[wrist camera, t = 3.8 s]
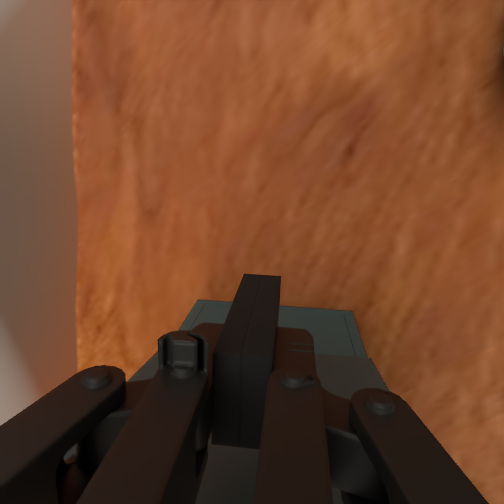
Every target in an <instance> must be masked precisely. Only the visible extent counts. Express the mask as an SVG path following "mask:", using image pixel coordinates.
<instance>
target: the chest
mask: <svg viewBox="0 0 504 504" xmlns="http://www.w3.org/2000/svg"><path fill="white" fill-rule="evenodd" d="M232 303H233V302H223V301H210V300H197V301H196V303H195V305H194V306H193V308H192V309H191V311H190V312H189V314H188V316H187V317H186V319H185V320H184V322H183V324H182V325H181V327H180V328H179V330H192V328H194V327H195V326H197V325H199V324H200V323H202V322H206V323H219V324H224V323H225V320H226V318H227V315H228V313H229V310H230V308H231V305H232ZM278 327H285V328H298V329H306V330H307V331H308V332H309V333H310V334H311V335H312V336H313V341H314V353H315V354H326V355H338V356H350V357H362V358H368V357H367V354H366V351H365V348H364V345H363V342H362V339H361V336H360V333H359V330H358V328H357V325H356V322H355V319H354V316H353V313H352V311H344V310H331V309H318V308H304V307H291V306H279V319H278ZM179 330H178V331H179Z"/></svg>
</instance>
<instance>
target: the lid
mask: <svg viewBox="0 0 504 504" xmlns="http://www.w3.org/2000/svg"><path fill="white" fill-rule="evenodd" d="M315 363H316V373H317V376H318V377H319V380H320V382H321V386H322V387H323V388H324V389H325V390H326V391H328V392H330V393H332V394H334V395H336V396H339V397H342V398H345V399H349V400H351V397H352V395H353V393H354V392H356V391H358V390H359V389H364V388H379V389H383V390H387V391H389V389H388V388H387V386H386V384H385V382H384V381H383V379H382V377H381V375H380V374H379V372H378V370H377V368H376V367H375V365H374V363H373V361H372V360H371V358H362V357H350V356H338V355H326V354H315ZM158 369H159V363H158V351H157V352H156V353H155V354H154V355H153V356H152V357H151V358H150V359H149V360H148V361H147V362H146V363H145V364H144V365H143V366H142V367H141V368H140V369H139V370H138V371H137V372H136V373H135V374H134V375H133V376H132V377H131V378H130V379H129V380H128V381H127V382H130V381H139V380H146V379H151V378H153V377H154V375H155V374H156V372H157V370H158ZM211 433H212V430H211ZM211 433H210V437H209V440H208V460H207V463H206V467H205V470H204V474H203V478H202V481H201V485H200V489H199V492H198V496H197V499H196V503H195V504H253V499H254V491H255V482H256V474H257V466H258V458H259V450H260V449H251V448H241V447H232V446H222V445H213V444H211ZM73 454H74V446H73V447H72V448H71V449H70V450H69V451H68V452H67V453H66V454H65V456H64V461H65V460H67V459H68V458H70V457H71V456H72V455H73ZM332 496H333V504H344V503H343V501H342V497H341V492H340V489H338V488H335V487H332Z"/></svg>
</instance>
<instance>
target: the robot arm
mask: <svg viewBox="0 0 504 504" xmlns="http://www.w3.org/2000/svg"><path fill="white" fill-rule="evenodd" d="M280 284H281V276H270V275H255V274H244V275H243V278H242V280H241V283H240V285H239V288H238V290H237V293H236V295H235V298H234V300H233V303H232V305H231V308H230V310H229V313H228V315H227V318H226V320H225V323H224V324H219V323H206V322H202V323H200V324H199V325H197V326H195V327H194V328H192V330H179V331H173V332H169V333H167V334H165V335H163V336H161V337H160V338H159V339H158V363H159V369H158V370H157V372H156V374H155V375H154V377H153V378H151V379H146V380H139V381H130V382H126V380H125V373H124V372H123V371H122V370H121V369H119V368H117V367H114V366H106V365H101V366H94V367H91V368H88V369H84V370H82V371H81V372H79V373H77V374H75V375H74V376H72V377H71V378H69V379H68V380H66V381H65V382H63V383H62V384H61V385H59V386H58V387H56V388H55V389H53V390H52V391H50V392H49V393H47V394H46V395H45V396H43V397H42V398H40V399H39V400H37V401H36V402H34V403H33V404H32V405H30V406H29V407H27V408H26V409H24V410H23V411H21V412H20V413H18V414H17V415H16V416H14V417H13V418H11V419H10V420H8V421H7V422H6V423H4V424H3V425H1V426H0V504H195V503H196V499H197V496H198V492H199V489H200V485H201V481H202V478H203V474H204V470H205V467H206V463H207V460H208V440H209V437H210V433H211V430H212V433H211V444H213V445H222V446H232V447H241V448H251V449H260V450H259V458H258V466H257V474H256V482H255V491H254V499H253V504H333V496H332V487H335V488H338V489H340V492H341V497H342V501H343V503H344V504H489V503H488V502H487V501H486V500H485V498H484V497H483V496H482V495H481V493H480V492H479V491H478V490H477V489H476V487H475V486H474V485H473V484H472V482H471V481H470V480H469V479H468V477H467V476H466V475H465V474H464V473H463V471H462V470H461V469H460V468H459V466H458V465H457V464H456V463H455V461H454V460H453V459H452V458H451V457H450V455H449V454H448V453H447V452H446V450H445V449H444V448H443V447H442V446H441V444H440V443H439V442H438V441H437V439H436V438H435V437H434V436H433V434H432V433H431V432H430V431H429V430H428V428H427V427H426V426H425V425H424V423H423V422H422V421H421V420H420V418H419V417H418V416H417V415H416V414H415V412H414V411H413V410H412V409H411V407H410V406H409V405H408V404H407V403H406V402H405V401H404V400H403V399H402V398H401V397H400V396H398V395H396V394H394V393H392V392H390V391H387V390H383V389H379V388H364V389H359V390H358V391H356V392H354V393H353V395H352V397H351V400H349V399H345V398H342V397H339V396H336V395H334V394H332V393H330V392H328V391H326V390H325V389H324V388H323V387H322V386H321V382H320V380H319V377H318V376H317V373H316V363H315V353H314V341H313V336H312V335H311V334H310V333H309V332H308V331H307V330H306V329H298V328H285V327H278V319H279V302H280ZM73 446H74V454H73V455H72V456H71V457H70V458H68V459H67V460H65V461H64V456H65V454H66V453H67V452H68V451H69V450H70V449H71V448H72V447H73Z"/></svg>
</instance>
